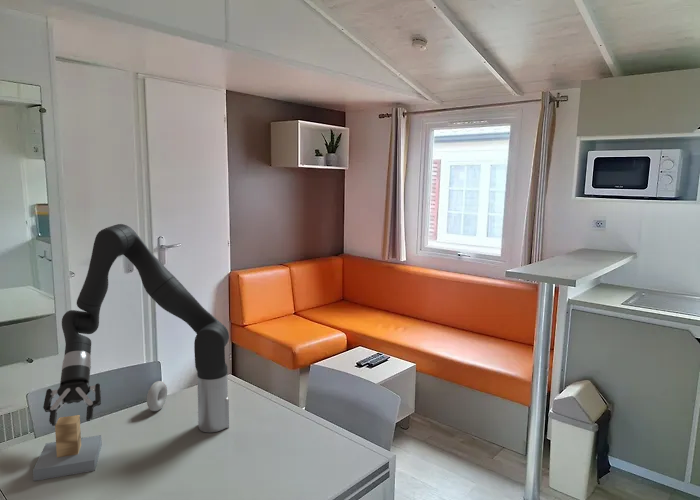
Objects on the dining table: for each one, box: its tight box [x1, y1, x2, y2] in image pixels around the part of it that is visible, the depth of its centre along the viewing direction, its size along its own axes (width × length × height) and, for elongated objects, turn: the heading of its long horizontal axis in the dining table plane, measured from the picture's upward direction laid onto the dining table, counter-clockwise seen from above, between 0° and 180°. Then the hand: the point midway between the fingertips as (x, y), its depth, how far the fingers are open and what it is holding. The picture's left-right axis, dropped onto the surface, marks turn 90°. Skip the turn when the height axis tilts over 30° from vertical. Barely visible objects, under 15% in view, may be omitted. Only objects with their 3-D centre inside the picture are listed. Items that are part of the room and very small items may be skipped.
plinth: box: [32, 434, 103, 482], centre depth 130 cm, size 14×14×3 cm
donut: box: [146, 380, 168, 412], centre depth 162 cm, size 10×4×10 cm, turn 173°
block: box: [54, 414, 82, 458], centre depth 129 cm, size 5×5×9 cm
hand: (71, 422), depth 133 cm, fingers open, 8 cm apart
